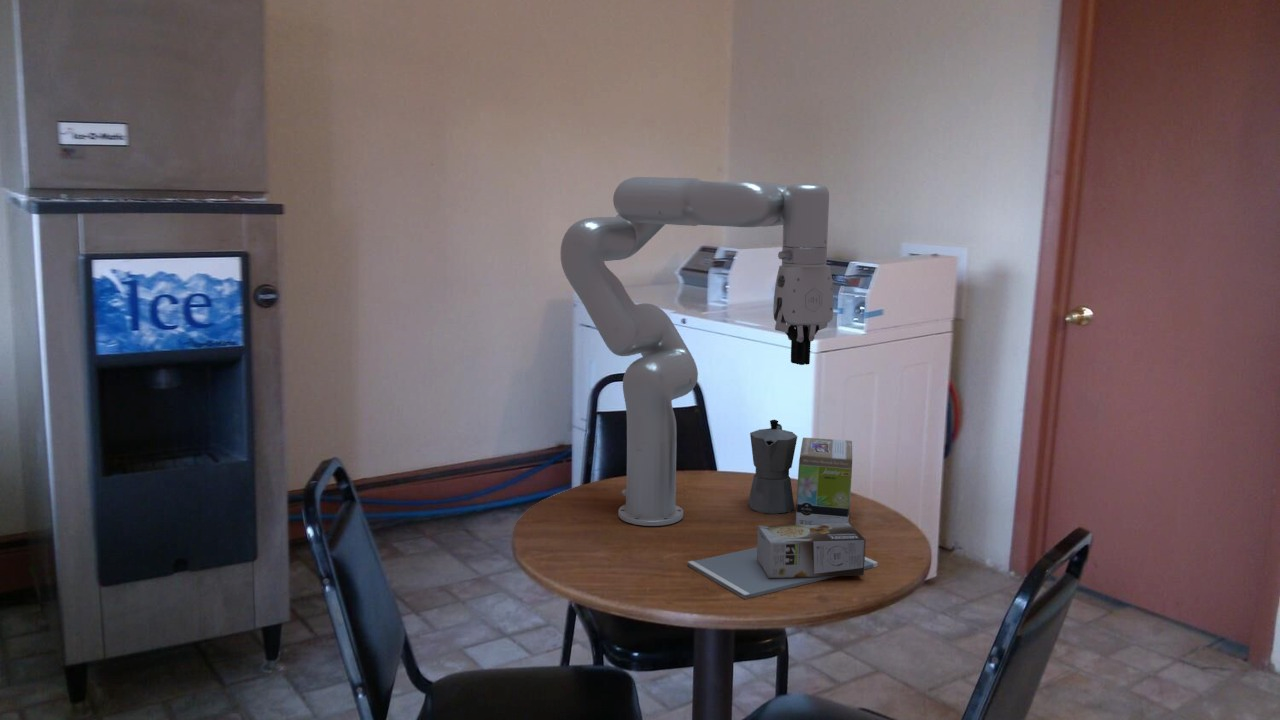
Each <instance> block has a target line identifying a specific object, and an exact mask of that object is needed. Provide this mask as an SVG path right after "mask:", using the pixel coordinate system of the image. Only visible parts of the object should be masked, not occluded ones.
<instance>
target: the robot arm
mask: <svg viewBox="0 0 1280 720" xmlns="http://www.w3.org/2000/svg"><path fill="white" fill-rule="evenodd" d="M612 197H613V198H612V199H613V200H612V202H613V207H614V209H615V211H616V213H617V215H616V216H606V217H605V216H603V217H602V216H600V217H599V216H596V217H595V216H594V217H587V218H583V219H580V220H578V221H576V222H574V223H573V224H572V225H570V226H569V228H568V229H567V230H566V232H565V233H564V235H563V237H562V241H561V245H560V263H561V267H562V270H563V273H564V276H565V277H566V279H567V281H568V282H569V284H570V286H571V288H572V289H573V290H574V292H575V293H576V295H577V296H578V298H579V300H580V301H581V303H582V305H583V306H584V308H585V310H586V312H587V314H588V316H589V317H590V320H591V321H592V323H593V325H594V327H595V328H596V331H597V332H598V334H599V335H600V338H602V341H603V342H604V344H605V345H606V347H607V348H608V350H609V351H610V352H612V353H613V354H614V355H616V356H619V357H630V356H634V355H638V354H640V355H641V356H642V357H640V358H637V359H636V360H634V361H633V362H632V363H630V364H629V365H628V366H627V368H626V370H625V372H624V375H623V378H622V392H623V399H624V403H625V413H626V488H623V489H622V490H621V495H622V496H624V497H625V504H623V505H621V506H620V507H619V508H618V513H617V514H618V517H619V518H620V520H622V521H623V522H625V523H628V524H632V525H636V526H644V527H659V526H660V527H661V526H669V525H672V524H675V523H678V522H680V521H681V520H683V517H684V510H683V508H682V507H680V506H679V505H677V504H676V495H677V494H676V491H677V490H676V489H677V488H676V487H677V483H676V482H677V443H678V442H677V419H676V416H675V415H676V414H675V412H674V409H673V402H672V401H673V400H677V399H678V398H682V397H684V396H686V395H689V393H690V392H692V391H693V390H694V388H695V387H696V385H697V383H698V378H699V377H698V375H699V372H698V367H697V364H696V362H695V358H694V357H693V354H692V353H691V352H690V350H689V348H688V347H687V345H686V343H685V342H684V340H683V338H682V336H681V334H680V333H679V331H678V329H677V327H676V326H675V324H674V323H673V321H672V319H671V318H670V316H669V315H668V313H666V312H665V311H664V310H663V309H661V308H660V307H659V306H657V305H655V304H652V303H639V304H638V303H637V304H636V303H635V302H634V301H633V300H632V298H631V297H630V295H629V293H628V292H627V290H626V289H625V285H623V282H622V281H621V280H620V279H619V278H618V276H616V275H615V273H614V272H612V270H611V269H609V268H608V267H607V265H606V263H605V262H611V261H612V262H613V261H621V260H625V259H628V258H630V257H632V256H633V255H635V254H637V253H638V252H639V251H640V250H641V249H642V248H643V247H644V246H645V245H646V244H647V243H648V242H649V241H650V240H651V239H652V238H654V236H655V235H656V234H658V233H659V232H660V230H661V229H663V227H665V226H666V225H671V226H673V225H674V226H688V227H691V226H692V227H697V226H714V227H715V226H716V227H731V228H732V227H733V228H736V227H737V228H757V227H762V228H763V227H764V228H765V227H767V228H768V227H777V226H782V249H781V250H782V251H781V250H780V251H779V252H778V253H777V257H778V259H779V260H781V265H779V266H778V271H777V275H776V281H775V284H774V285H775V286H774V293H773V294H774V296H773V310H772V312H773V319H774V321H775V326H774V329H775V331H778V332H781V333H785V335H786V336H787V339H788V340H789V341H791V342H790V362H791V363H792V364H796V365H799V366H803V365H810V362H811V342H813V341H814V340H815V336H816V335H817V333H818V332H819V331H821V330H823V329H826V328H827V327H828V323H829V322H831V321H833V317H834V288H833V287H834V286H833V285H834V284H833V283H834V282H833V277H832V271H831V266H830V265H828V264H827V261H828V260H827V259H828V257H827V255H828V254H827V253H828V234H829V233H828V232H829V231H828V229H829V213H830V212H829V210H830V209H829V208H830V207H829V206H830V191H829V189H828V188H827V186H826V185H823V184H814V183H811V184H810V183H805V184H804V183H803V184H802V183H797V184H796V183H795V184H790V185H789V184H783V183H782V184H780V183H774V182H760V181H759V182H758V181H708V180H701V179H699V178H697V177H696V178H695V177H658V176H657V177H655V176H635V177H630V178H627V179H624V180H623V181H622V182H620V183H619V184H618V185H617V187H616V188H615V190H614V192H613V196H612Z"/></svg>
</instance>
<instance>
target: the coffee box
mask: <svg viewBox="0 0 1280 720" xmlns="http://www.w3.org/2000/svg"><path fill="white" fill-rule="evenodd" d="M866 542H867V540H866V538H865V537H864V536H862V535H861V533H860V532H858V530H857V529H856V528H854V527H853V525H851V524H850V523H849V522H848V523H835V524H804V525H796V524H777V525H775V524H774V525H773V524H771V525H758V526H757V541H756V547H757V560H758V562H759V563H760V565H761V566H762V568H763V570H764V571H765V573H766V574H767V576H768V578H790V577H821V576H837V577H849V576H864V573H865V570H864V562H865V557H866Z"/></svg>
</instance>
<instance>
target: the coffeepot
mask: <svg viewBox="0 0 1280 720" xmlns="http://www.w3.org/2000/svg"><path fill="white" fill-rule="evenodd" d="M769 425H770V428H762V429H758V430H757V429H756V430H755V431H751V432H750V433H749V435H750V436H749V437H750V443H751V445H750V446H751V451H752V452H751V453H752V462H753V466H754V467H755V474H754V475H753V479H752V482H751V489H750V493H749V498H748V503H747V505H748V506H749V508H750V509H751V510H753V511H754V512H756V513H761V514H766V513H767V515H769V514H770V515H780V514H779V513H782V514H787V513H789V511H790V510H791V511H792V510H793V509H795V504H794V496H793V488H792V480H791V477H790V469H792V468H793V461H794V456H795V451H796V447H797V440H798V435H797V434H795V433H794V432H793V431H790V430H785V429H783V426H782V424H780V423H779V420H777V419H771V420H769ZM791 511H790V512H791ZM786 512H787V513H786Z"/></svg>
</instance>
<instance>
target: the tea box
mask: <svg viewBox="0 0 1280 720" xmlns="http://www.w3.org/2000/svg"><path fill="white" fill-rule="evenodd" d="M798 460H799V461H798V472H797V473H798V474H797V492H796V505H795V506H796V507H795V508H796V512H795V525H804V524H835V523H849V521H850V520H849V518H850V517H849V516H850V505H851V504H850V503H851V493H852V491H851V490H852V478H853V477H852V475H853V442H852V440H845V439H834V438H833V439H831V438H817V437H802V441H801V447H800V452H799V459H798Z"/></svg>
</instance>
